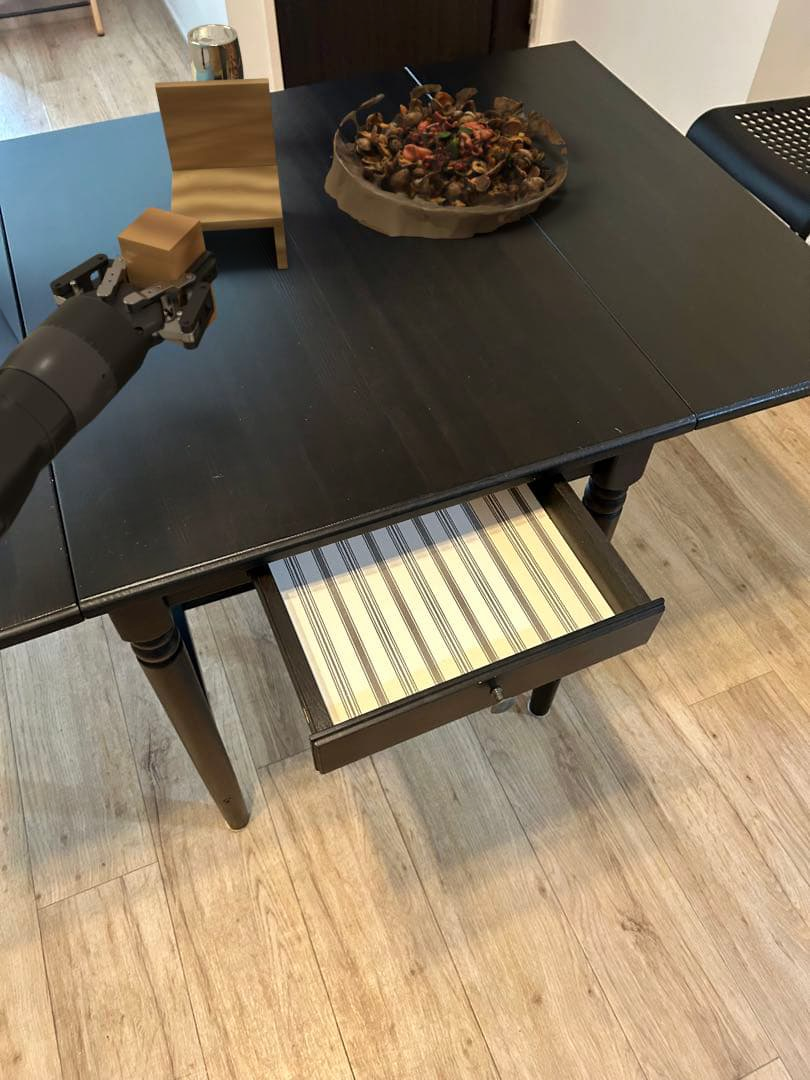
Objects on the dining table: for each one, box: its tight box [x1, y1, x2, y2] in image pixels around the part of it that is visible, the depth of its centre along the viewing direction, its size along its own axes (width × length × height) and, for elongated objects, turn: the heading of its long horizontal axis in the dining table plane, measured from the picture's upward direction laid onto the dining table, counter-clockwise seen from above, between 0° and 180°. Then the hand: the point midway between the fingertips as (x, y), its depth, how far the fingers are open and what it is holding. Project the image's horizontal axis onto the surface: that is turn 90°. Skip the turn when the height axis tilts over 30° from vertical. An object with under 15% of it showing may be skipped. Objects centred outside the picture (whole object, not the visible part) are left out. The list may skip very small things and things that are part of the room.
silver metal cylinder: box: [186, 23, 245, 81], centre depth 114 cm, size 7×7×15 cm
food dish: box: [323, 84, 569, 240], centre depth 115 cm, size 35×33×8 cm
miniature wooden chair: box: [154, 77, 289, 270], centre depth 99 cm, size 13×13×17 cm
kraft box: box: [116, 206, 218, 346], centre depth 73 cm, size 5×5×10 cm
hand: (183, 253), depth 74 cm, fingers closed on kraft box, 5 cm apart
